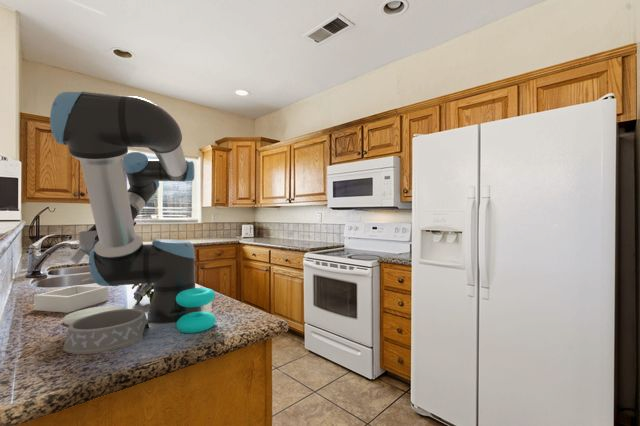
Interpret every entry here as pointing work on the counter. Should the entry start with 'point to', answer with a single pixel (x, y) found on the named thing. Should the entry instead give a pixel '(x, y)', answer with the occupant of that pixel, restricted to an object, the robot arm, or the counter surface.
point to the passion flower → (143, 291)
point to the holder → (70, 298)
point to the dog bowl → (105, 331)
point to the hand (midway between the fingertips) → (84, 261)
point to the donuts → (195, 319)
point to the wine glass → (88, 245)
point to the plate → (87, 313)
